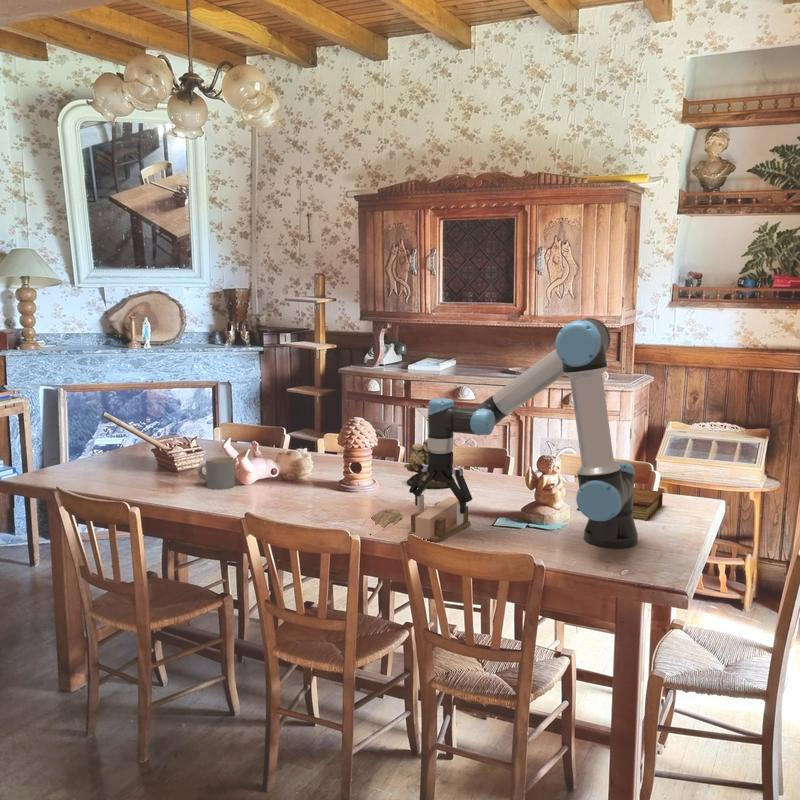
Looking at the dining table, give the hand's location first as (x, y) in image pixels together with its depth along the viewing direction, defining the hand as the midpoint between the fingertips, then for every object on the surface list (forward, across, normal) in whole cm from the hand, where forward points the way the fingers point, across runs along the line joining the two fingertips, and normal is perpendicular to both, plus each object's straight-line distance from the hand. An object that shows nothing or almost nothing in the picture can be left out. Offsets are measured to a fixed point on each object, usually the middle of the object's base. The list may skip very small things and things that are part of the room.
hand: (440, 520), depth 251 cm
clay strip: (+2, 0, 0) cm, 2 cm away
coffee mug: (+3, +94, -2) cm, 94 cm away
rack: (+3, 0, 0) cm, 3 cm away
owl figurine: (+4, +30, -44) cm, 53 cm away
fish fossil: (+4, +20, +3) cm, 21 cm away
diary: (+4, -38, -52) cm, 65 cm away
